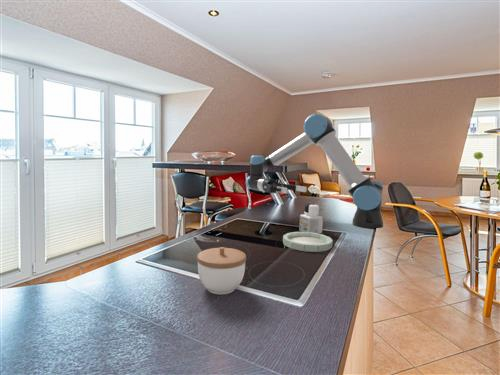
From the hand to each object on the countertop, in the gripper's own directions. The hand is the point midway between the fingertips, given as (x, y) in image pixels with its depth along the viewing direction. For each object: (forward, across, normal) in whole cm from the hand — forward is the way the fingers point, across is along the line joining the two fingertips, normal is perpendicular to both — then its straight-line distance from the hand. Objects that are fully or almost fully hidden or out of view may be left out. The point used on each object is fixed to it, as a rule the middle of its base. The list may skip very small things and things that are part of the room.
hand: (296, 190), depth 148 cm
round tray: (+22, +16, -18) cm, 33 cm away
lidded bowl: (+37, +66, -19) cm, 78 cm away
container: (+10, 0, -19) cm, 21 cm away
